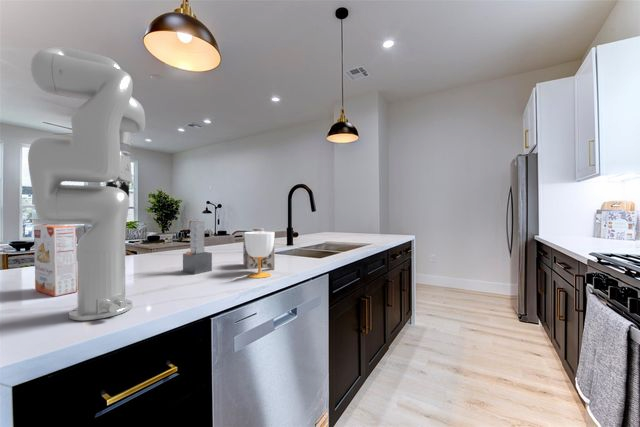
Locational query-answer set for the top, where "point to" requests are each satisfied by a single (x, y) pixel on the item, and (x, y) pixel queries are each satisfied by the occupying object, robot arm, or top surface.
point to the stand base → (197, 263)
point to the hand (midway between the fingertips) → (118, 196)
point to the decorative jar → (252, 262)
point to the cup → (259, 248)
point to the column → (197, 237)
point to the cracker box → (55, 259)
